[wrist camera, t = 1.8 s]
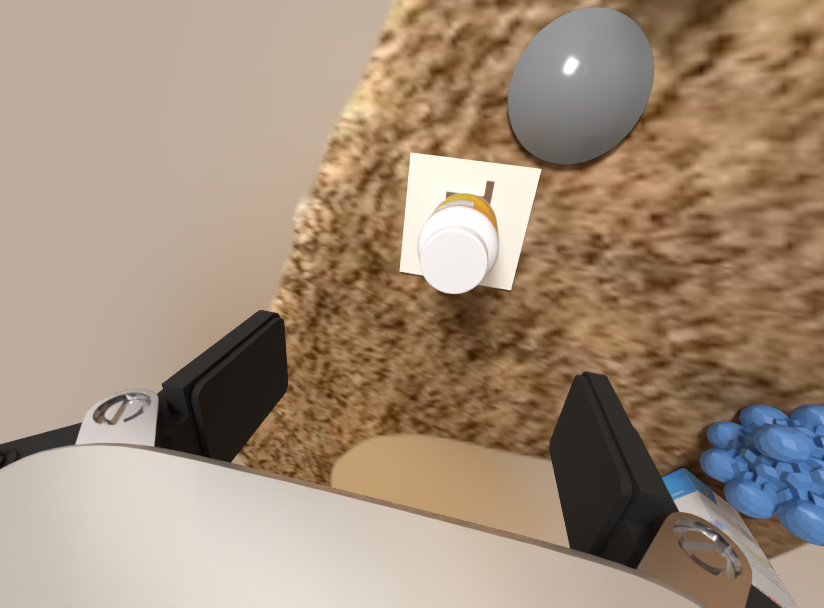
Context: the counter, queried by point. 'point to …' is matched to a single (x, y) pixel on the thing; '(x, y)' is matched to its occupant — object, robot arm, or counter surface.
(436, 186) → the card
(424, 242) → the supplement bottle
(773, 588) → the ink box
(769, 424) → the grapes
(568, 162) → the gray round coaster
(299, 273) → the counter surface
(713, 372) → the counter surface
